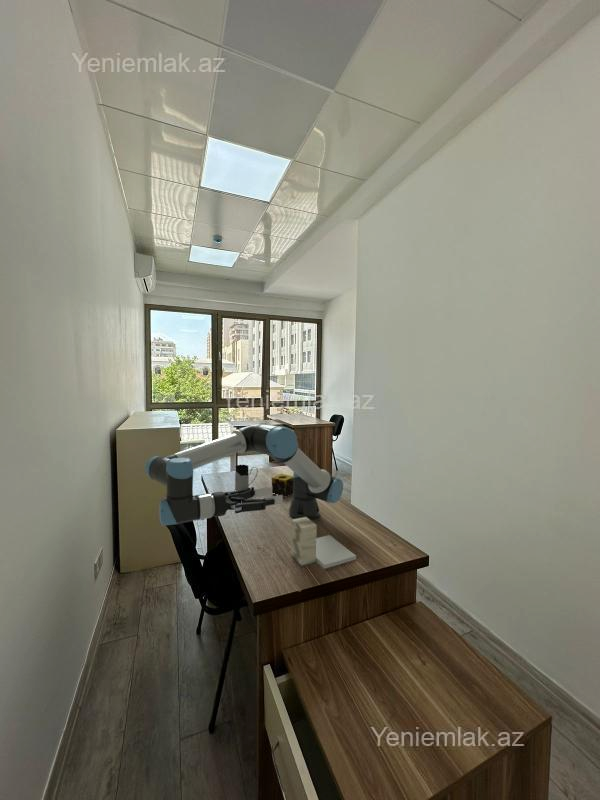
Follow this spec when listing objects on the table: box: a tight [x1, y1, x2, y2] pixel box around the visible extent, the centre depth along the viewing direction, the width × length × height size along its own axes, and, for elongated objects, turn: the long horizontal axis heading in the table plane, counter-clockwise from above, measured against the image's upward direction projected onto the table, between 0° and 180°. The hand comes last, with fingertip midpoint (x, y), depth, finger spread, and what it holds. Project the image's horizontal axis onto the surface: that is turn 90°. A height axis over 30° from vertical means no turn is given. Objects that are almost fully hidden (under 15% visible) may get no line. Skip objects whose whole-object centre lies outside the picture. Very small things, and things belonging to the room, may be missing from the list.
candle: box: [271, 473, 293, 497], centre depth 191 cm, size 10×10×10 cm
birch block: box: [291, 517, 318, 567], centre depth 121 cm, size 8×6×14 cm
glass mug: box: [234, 464, 259, 491], centre depth 195 cm, size 9×14×15 cm, turn 119°
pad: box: [315, 534, 357, 570], centre depth 127 cm, size 18×14×2 cm
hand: (276, 494), depth 115 cm, fingers open, 8 cm apart
